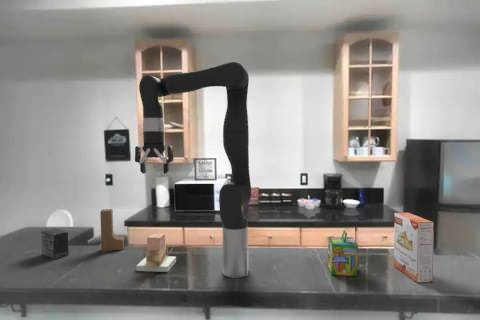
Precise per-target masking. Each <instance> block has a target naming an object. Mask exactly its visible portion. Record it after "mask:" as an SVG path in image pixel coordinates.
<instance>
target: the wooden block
mask: <svg viewBox="0 0 480 320" xmlns="http://www.w3.org/2000/svg"><path fill="white" fill-rule="evenodd" d="M113 211H114V210H113V209H112V208H106V209H101V210H100V212H99V215H100V243H101V252H113V251H112V250H114V251H121V250H124V248H125V237H124V236H117V235H116V233H115V232H114V219H113V218H114V217H113V216H114V215H113V214H114V213H113Z"/></svg>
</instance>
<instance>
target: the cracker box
mask: <svg viewBox="0 0 480 320" xmlns="http://www.w3.org/2000/svg"><path fill="white" fill-rule="evenodd" d="M393 220H394V222H393V223H394V228H393V229H394V233H393V234H394V236H393V238H394V239H393V267H394V268H396V269H397V270H399V271H400V272H401V271H402V272H401V273H403V274H404V275H405V276H407V277H408V276H409V279H411V278H412V279H413V280H412V279H411V280H412V281H413V282H415V281H416V282H428V283H431V282H430V281H433V279H434V276H433V275H434V238H435V237H434V228H435V225H434V221H431V220H429V219H425V218H424V217H421V216H418V215H416V214H413V213H411V212H394V219H393ZM416 282H415V283H416Z"/></svg>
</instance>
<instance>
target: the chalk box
mask: <svg viewBox="0 0 480 320" xmlns="http://www.w3.org/2000/svg"><path fill="white" fill-rule="evenodd" d="M327 239H328V240H327V267H328V270H329V271H330V274H331V276H347V277H348V276H349V277H358V257H359V256H358V255H359V250H358V249H359V244H358V242H357V241H356V240H355V239H354V237H348V232H347V231H346V230H343V231H342V234H341V236H333V235H332V236H330V235H329V236H328V237H327Z"/></svg>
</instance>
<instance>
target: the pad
mask: <svg viewBox="0 0 480 320" xmlns="http://www.w3.org/2000/svg"><path fill="white" fill-rule="evenodd" d="M176 263H177V256H170V255H166V258H165V259H164V261H163V262H162V263H161V265H160V266H146V256H145V257H144V258H143V259H142V260H141V261H140V262H139V263H138V264H137V265H136V271H137V272H161V273H163V272H164V273H168V272H170V270H171V269H172V268H173V266H174V265H175V264H176Z"/></svg>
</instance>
